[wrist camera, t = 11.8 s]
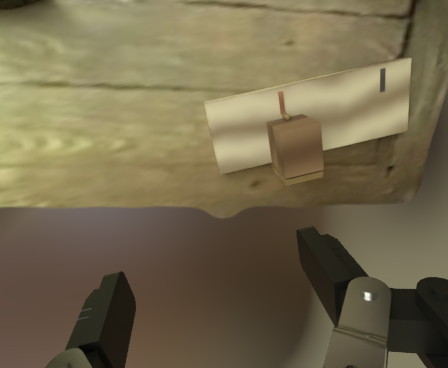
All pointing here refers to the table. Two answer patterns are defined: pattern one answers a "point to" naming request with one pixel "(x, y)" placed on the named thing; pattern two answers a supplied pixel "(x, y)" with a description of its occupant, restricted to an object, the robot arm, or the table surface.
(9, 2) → the hand tool
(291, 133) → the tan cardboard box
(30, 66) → the table surface
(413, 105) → the table surface
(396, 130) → the board
